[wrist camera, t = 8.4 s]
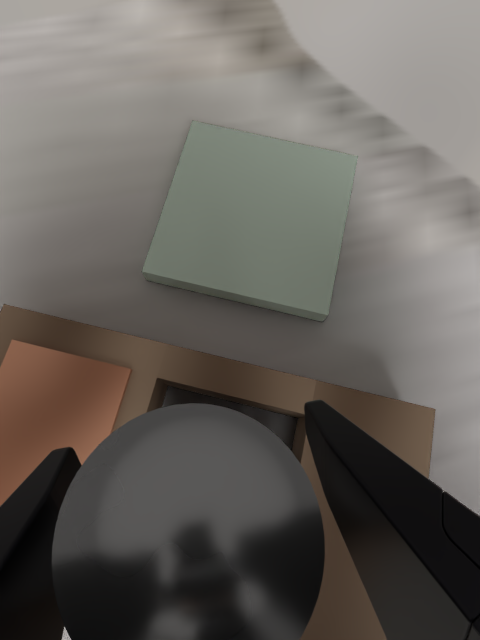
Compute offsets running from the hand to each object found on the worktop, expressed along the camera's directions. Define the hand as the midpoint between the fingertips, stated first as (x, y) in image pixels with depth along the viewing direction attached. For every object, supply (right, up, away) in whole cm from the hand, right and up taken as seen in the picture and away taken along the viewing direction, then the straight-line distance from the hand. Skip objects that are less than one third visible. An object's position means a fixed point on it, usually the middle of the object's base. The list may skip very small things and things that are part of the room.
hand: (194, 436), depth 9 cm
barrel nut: (0, -3, +6) cm, 7 cm away
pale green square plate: (+2, +7, +9) cm, 12 cm away
